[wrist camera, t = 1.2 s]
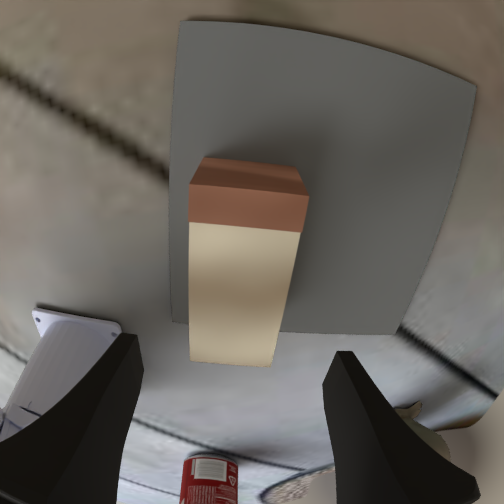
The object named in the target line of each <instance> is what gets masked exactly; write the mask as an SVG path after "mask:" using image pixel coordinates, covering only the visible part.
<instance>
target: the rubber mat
mask: <svg viewBox="0 0 504 504" xmlns="http://www.w3.org/2000/svg"><path fill="white" fill-rule="evenodd" d="M476 89H477V86H475V85H473V84H471V83H469V82H467V81H465V80H462V79H460V78H458V77H456V76H453V75H451V74H449V73H446V72H444V71H441V70H439V69H436V68H434V67H431V66H429V65H426V64H423V63H421V62H418V61H415V60H412V59H410V58H407V57H404V56H401V55H398V54H395V53H391V52H388V51H385V50H382V49H378V48H375V47H371V46H368V45H364V44H360V43H356V42H353V41H348V40H344V39H340V38H336V37H331V36H326V35H322V34H316V33H311V32H306V31H300V30H294V29H287V28H280V27H273V26H265V25H256V24H245V23H232V22H214V21H180V28H179V37H178V46H177V56H176V66H175V78H174V90H173V105H172V121H171V142H170V171H169V257H170V287H171V308H172V322H175V323H184V324H189V222H188V201H189V183H190V181H191V180H192V178H193V176H194V174H195V172H196V170H197V168H198V166H199V164H200V163H201V161H202V159H203V157H206V158H218V159H230V160H241V161H251V162H260V163H269V164H278V165H286V166H294V167H296V169H297V171H298V173H299V175H300V177H301V179H302V181H303V183H304V186H305V188H306V190H307V192H308V194H309V201H308V206H307V211H306V216H305V221H304V226H303V231H302V233H300V238H299V243H298V248H297V253H296V258H295V262H294V267H293V272H292V276H291V281H290V285H289V290H288V295H287V299H286V303H285V308H284V312H283V317H282V321H281V325H280V330H279V332H296V333H319V334H356V335H395V333H396V331H397V329H398V327H399V325H400V323H401V321H402V319H403V317H404V314H405V312H406V310H407V308H408V306H409V304H410V302H411V299H412V297H413V295H414V293H415V291H416V288H417V286H418V284H419V281H420V279H421V277H422V274H423V272H424V269H425V267H426V265H427V262H428V260H429V257H430V255H431V252H432V249H433V247H434V244H435V241H436V239H437V236H438V233H439V231H440V228H441V225H442V222H443V219H444V216H445V213H446V210H447V207H448V204H449V201H450V198H451V195H452V191H453V188H454V185H455V181H456V178H457V174H458V171H459V167H460V163H461V160H462V156H463V152H464V148H465V144H466V139H467V135H468V131H469V126H470V121H471V116H472V111H473V106H474V100H475V95H476Z"/></svg>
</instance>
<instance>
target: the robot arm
mask: <svg viewBox="0 0 504 504" xmlns="http://www.w3.org/2000/svg"><path fill="white" fill-rule="evenodd" d="M32 315H33V318H34V321H35V323H36V326H37V328H38V331H39V333H40V336H41V340H40V342H39V343H38V345H37V347H36V349H35V350H34V352H33V354H32V356H31V358H30V359H29V361H28V363H27V365H26V367H25V369H24V370H23V372H22V374H21V376H20V378H19V380H18V382H17V384H16V386H15V388H14V390H13V392H12V394H11V396H10V398H9V400H8V402H7V404H6V406H5V407H4V408H3V409H1V408H0V504H116V501H117V489H118V480H119V472H120V465H121V459H122V453H123V448H124V444H125V440H126V437H127V433H128V430H129V427H130V423H131V420H132V417H133V414H134V410H135V407H136V404H137V401H138V397H139V394H140V388H141V383H142V378H143V372H144V368H143V363H142V358H141V353H140V348H139V342H138V337H137V335H135V334H128V333H122V331H121V327H120V325H119V324H118V323H116V322H111V321H105V320H99V319H93V318H87V317H82V316H76V315H71V314H65V313H60V312H55V311H50V310H45V309H40V308H34V309H33V310H32ZM322 386H323V400H324V410H325V415H326V420H327V425H328V430H329V435H330V440H331V445H332V450H333V455H334V462H335V473H336V492H337V504H472V503H473V502H475V501H477V500H478V499H479V498H480V496H481V495H480V491H479V488H478V485H477V482H476V479H475V477H474V476H472V475H470V474H469V473H467V472H465V471H464V470H462V469H460V468H458V467H457V466H455V465H454V464H452V463H451V462H450V461H448V460H447V459H445V458H444V457H443V456H441V455H440V454H439V453H437V452H436V451H435V450H434V449H433V448H431V447H430V446H429V445H428V444H427V443H426V442H424V441H423V440H422V439H421V438H420V437H419V436H418V435H417V434H416V433H415V432H414V431H413V430H412V429H411V428H410V427H409V426H408V425H407V424H406V423H405V422H404V421H403V419H402V418H401V417H400V416H399V415H398V414H397V412H396V411H395V410H394V409H393V407H392V406H391V405H390V404H389V402H388V401H387V400H386V399H385V397H384V396H383V394H382V393H381V392H380V390H379V389H378V388H377V386H376V385H375V384H374V382H373V381H372V379H371V378H370V376H369V375H368V373H367V372H366V371H365V369H364V368H363V366H362V365H361V363H360V362H359V360H358V359H357V357H356V356H355V354H354V353H353V352H352V351H337V352H336V354H335V356H334V359H333V361H332V363H331V366H330V368H329V370H328V373H327V375H326V377H325V379H324V382H323V384H322Z"/></svg>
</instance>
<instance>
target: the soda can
mask: <svg viewBox="0 0 504 504" xmlns="http://www.w3.org/2000/svg"><path fill="white" fill-rule="evenodd" d="M179 504H238V465H237V464H236V463H235V462H234V461H232V460H230V459H228V458H226V457H224V456H221V455H216V454H198V455H194V456H192V457H189V458H187V459H185V460H184V465H183V474H182V483H181V493H180V502H179Z"/></svg>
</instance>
